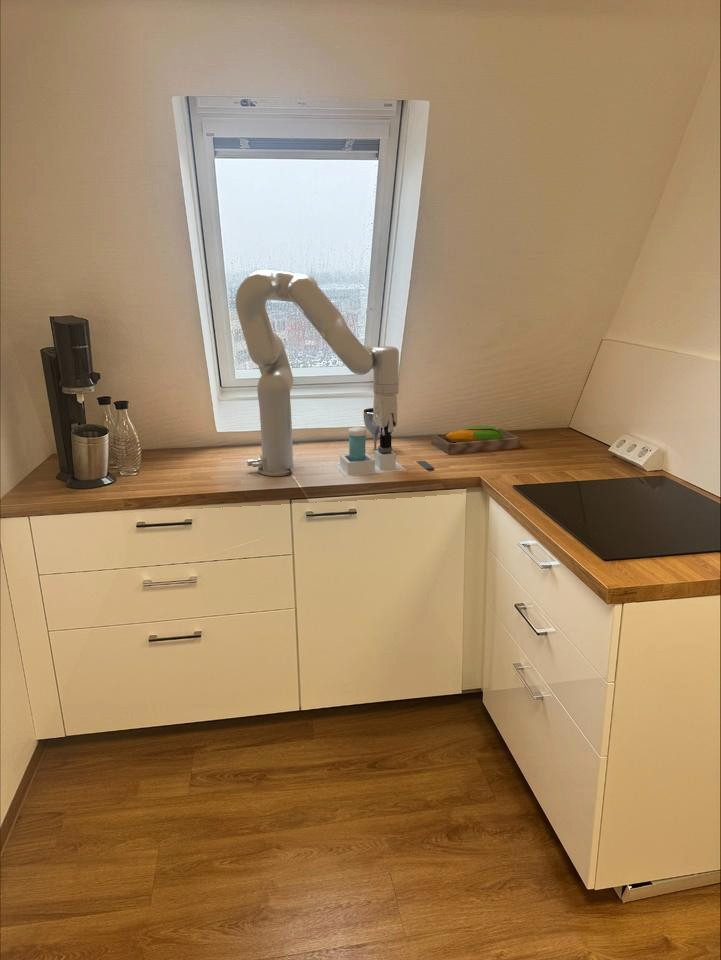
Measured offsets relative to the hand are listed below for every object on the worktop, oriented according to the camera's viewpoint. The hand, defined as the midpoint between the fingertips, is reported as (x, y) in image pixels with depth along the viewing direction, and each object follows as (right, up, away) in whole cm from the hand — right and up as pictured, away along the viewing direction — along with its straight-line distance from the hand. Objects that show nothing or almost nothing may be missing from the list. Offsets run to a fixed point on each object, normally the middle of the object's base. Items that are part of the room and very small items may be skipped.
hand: (385, 446), depth 207 cm
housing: (-5, -8, +1) cm, 9 cm away
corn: (+32, +1, +29) cm, 44 cm away
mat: (+10, -6, +5) cm, 13 cm away
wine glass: (-3, -1, +21) cm, 21 cm away
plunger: (0, -5, +2) cm, 6 cm away
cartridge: (-9, -7, -1) cm, 11 cm away
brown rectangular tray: (+33, +2, +30) cm, 44 cm away
